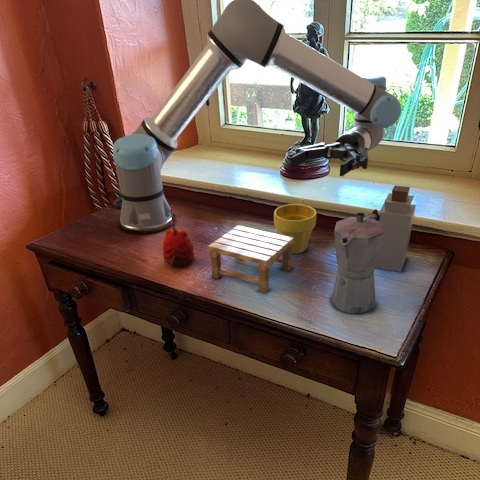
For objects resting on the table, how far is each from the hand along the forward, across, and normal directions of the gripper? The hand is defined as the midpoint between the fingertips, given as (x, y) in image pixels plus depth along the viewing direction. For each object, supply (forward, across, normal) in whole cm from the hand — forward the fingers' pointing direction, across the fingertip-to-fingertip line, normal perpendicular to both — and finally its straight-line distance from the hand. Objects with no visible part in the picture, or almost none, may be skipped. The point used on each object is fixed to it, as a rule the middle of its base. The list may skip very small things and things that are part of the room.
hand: (315, 166), depth 113 cm
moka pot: (+25, -23, -18) cm, 38 cm away
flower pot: (+10, 0, -18) cm, 21 cm away
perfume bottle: (+5, -23, -18) cm, 30 cm away
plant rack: (+26, +2, -18) cm, 32 cm away
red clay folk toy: (+31, +20, -18) cm, 41 cm away
